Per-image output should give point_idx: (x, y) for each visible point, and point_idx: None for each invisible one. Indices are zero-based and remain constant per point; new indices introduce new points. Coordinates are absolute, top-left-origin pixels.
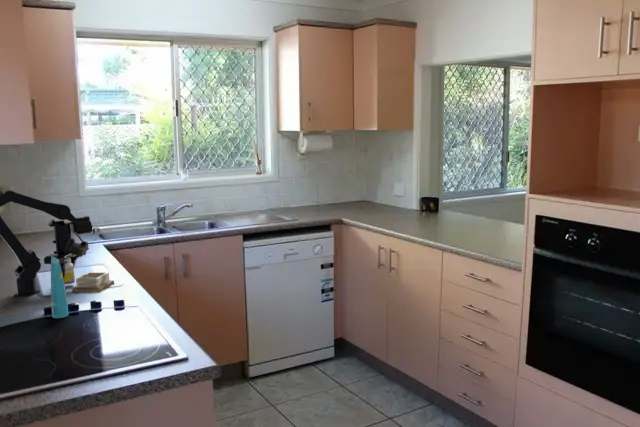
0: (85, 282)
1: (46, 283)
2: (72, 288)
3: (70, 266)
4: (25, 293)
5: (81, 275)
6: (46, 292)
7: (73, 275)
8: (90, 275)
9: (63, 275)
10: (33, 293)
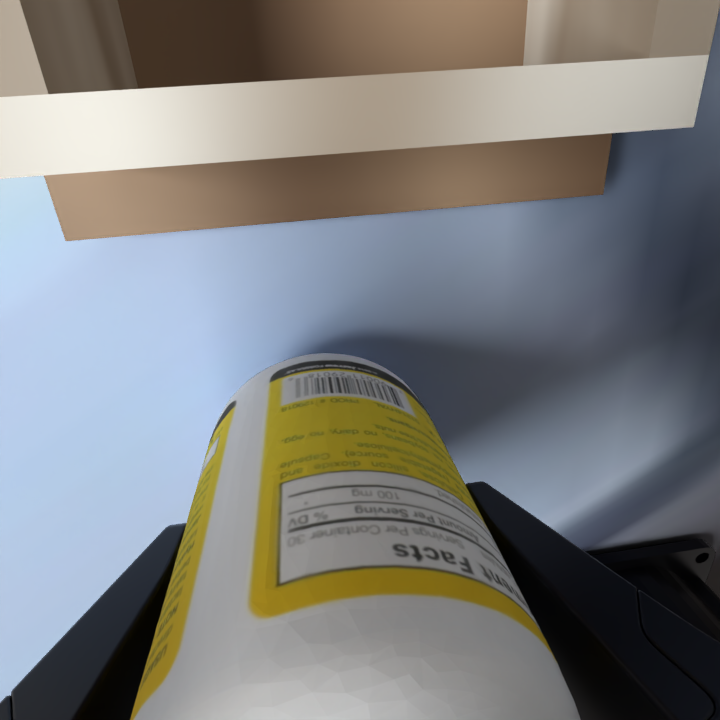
0: None
1: None
2: (601, 184)
3: (445, 639)
4: (712, 594)
5: (395, 144)
6: (579, 486)
7: (315, 419)
8: (70, 32)
9: (535, 517)
10: (664, 552)
